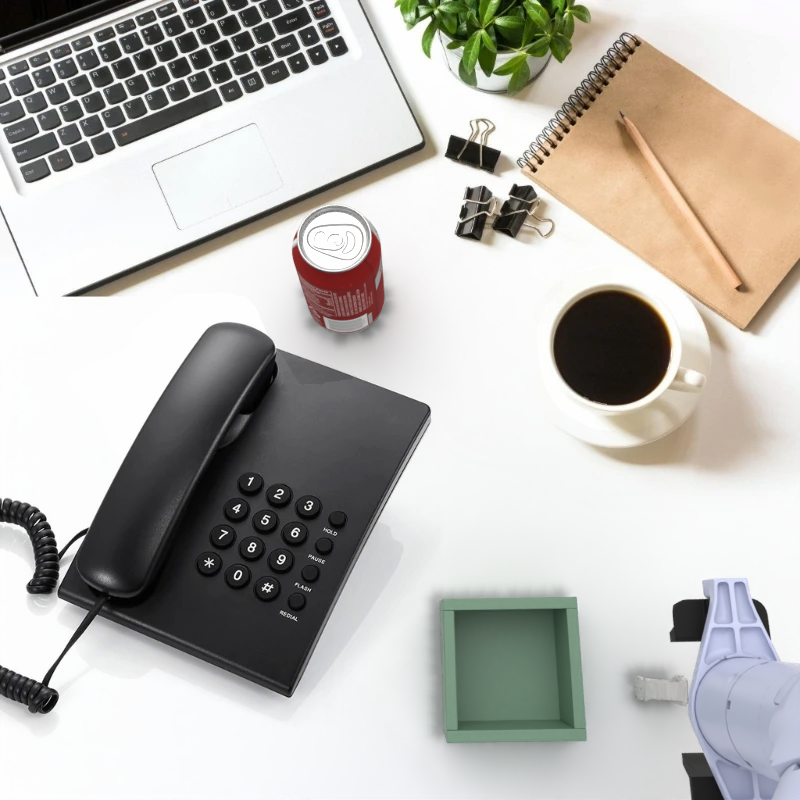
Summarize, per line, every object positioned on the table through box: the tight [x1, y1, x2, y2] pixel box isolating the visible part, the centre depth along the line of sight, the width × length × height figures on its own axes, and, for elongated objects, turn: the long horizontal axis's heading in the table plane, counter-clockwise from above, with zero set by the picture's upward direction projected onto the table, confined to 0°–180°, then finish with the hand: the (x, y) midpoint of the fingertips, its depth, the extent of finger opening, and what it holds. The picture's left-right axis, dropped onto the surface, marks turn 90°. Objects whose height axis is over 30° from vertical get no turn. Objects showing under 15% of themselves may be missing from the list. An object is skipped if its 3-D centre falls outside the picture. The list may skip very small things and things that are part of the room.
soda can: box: [291, 203, 386, 335], centre depth 65 cm, size 7×7×12 cm
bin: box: [439, 596, 588, 744], centre depth 59 cm, size 10×10×6 cm
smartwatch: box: [633, 674, 689, 707], centre depth 60 cm, size 4×2×4 cm, turn 87°
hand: (690, 696), depth 54 cm, fingers open, 7 cm apart
